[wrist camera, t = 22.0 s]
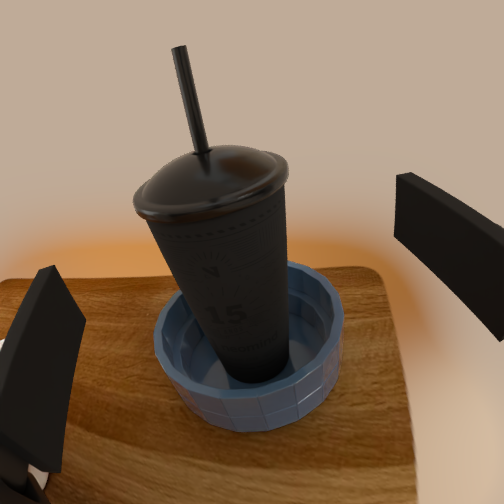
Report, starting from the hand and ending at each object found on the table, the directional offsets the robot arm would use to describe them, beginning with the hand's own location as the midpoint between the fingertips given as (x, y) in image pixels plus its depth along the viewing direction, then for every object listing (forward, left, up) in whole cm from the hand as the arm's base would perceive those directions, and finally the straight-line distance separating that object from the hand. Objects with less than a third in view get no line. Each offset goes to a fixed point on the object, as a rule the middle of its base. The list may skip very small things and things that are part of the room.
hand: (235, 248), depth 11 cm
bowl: (+1, -5, -13) cm, 14 cm away
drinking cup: (+2, -5, -13) cm, 14 cm away
